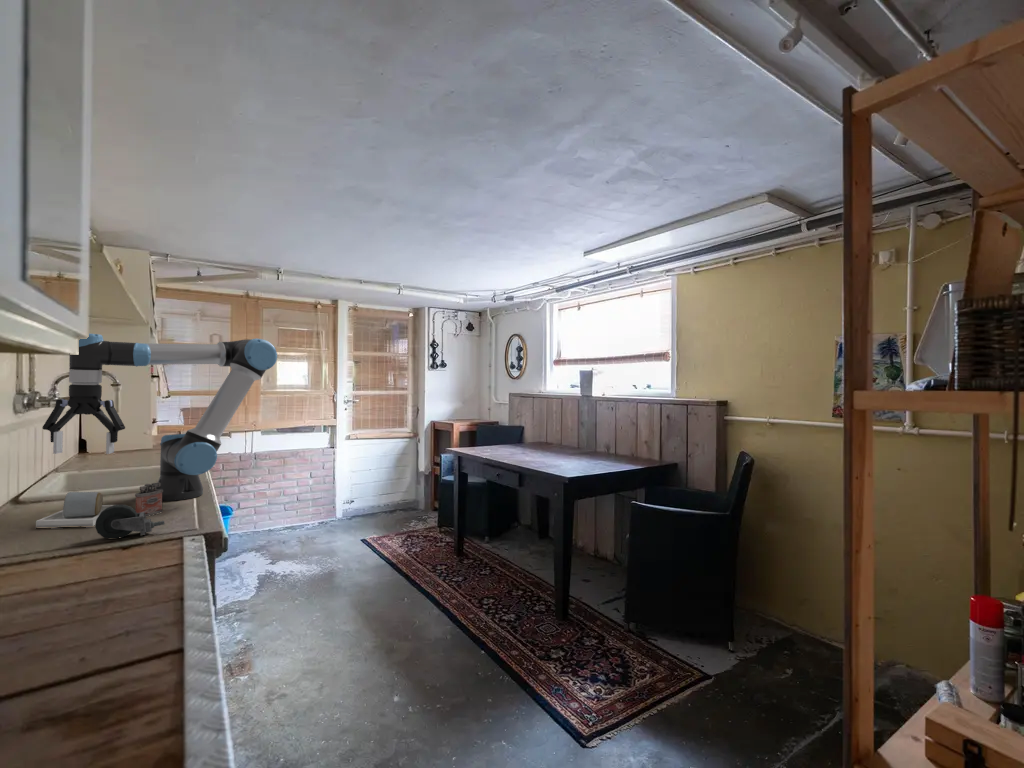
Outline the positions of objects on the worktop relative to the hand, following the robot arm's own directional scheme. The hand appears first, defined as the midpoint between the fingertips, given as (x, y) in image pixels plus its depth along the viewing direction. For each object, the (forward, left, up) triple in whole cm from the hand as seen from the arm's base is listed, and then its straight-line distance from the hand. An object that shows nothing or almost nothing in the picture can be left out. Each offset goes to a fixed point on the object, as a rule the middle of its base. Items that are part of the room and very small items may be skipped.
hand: (84, 453), depth 147 cm
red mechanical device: (-16, -4, -21) cm, 26 cm away
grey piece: (+1, -1, -20) cm, 20 cm away
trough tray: (0, 0, -20) cm, 21 cm away
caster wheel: (-21, +17, -21) cm, 34 cm away
